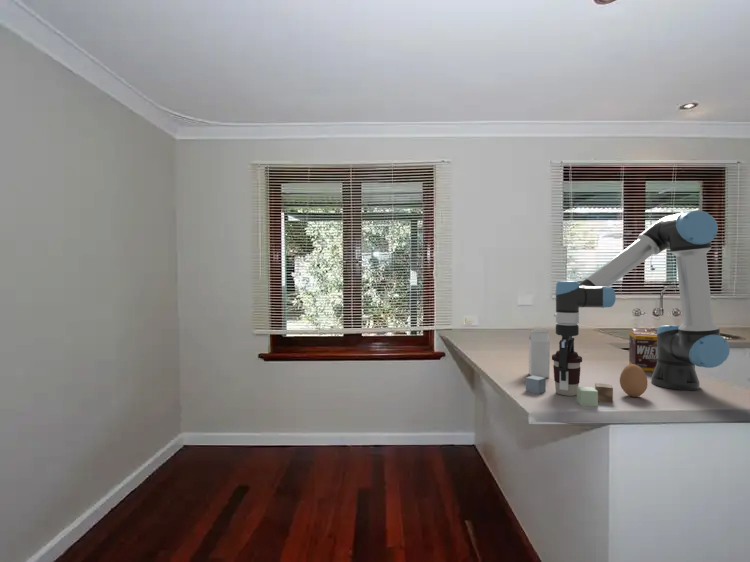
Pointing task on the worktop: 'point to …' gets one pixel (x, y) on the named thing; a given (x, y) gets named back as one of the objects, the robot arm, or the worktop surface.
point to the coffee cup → (572, 373)
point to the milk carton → (539, 353)
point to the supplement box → (643, 350)
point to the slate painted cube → (535, 384)
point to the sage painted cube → (587, 396)
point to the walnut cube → (604, 392)
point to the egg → (633, 380)
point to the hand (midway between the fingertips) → (566, 386)
